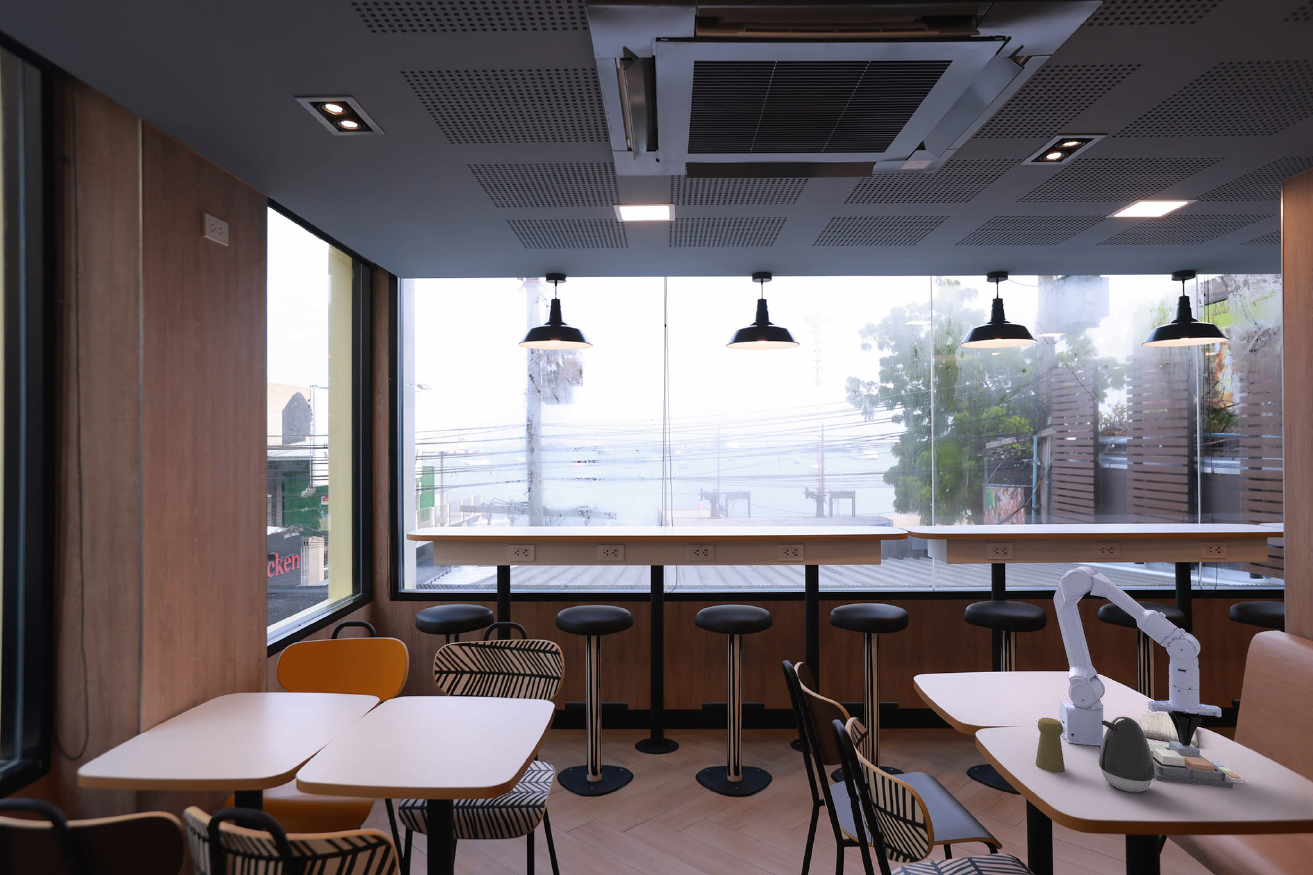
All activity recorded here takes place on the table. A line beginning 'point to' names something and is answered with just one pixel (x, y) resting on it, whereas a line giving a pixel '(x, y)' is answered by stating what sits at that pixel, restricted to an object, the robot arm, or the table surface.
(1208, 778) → the keypad base
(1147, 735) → the washcloth
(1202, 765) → the terracotta key
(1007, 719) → the table surface
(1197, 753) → the slate key
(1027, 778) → the table surface
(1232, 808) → the table surface
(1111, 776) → the pump dispenser
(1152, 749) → the sage key
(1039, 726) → the cork
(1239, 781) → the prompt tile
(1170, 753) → the ivory key
